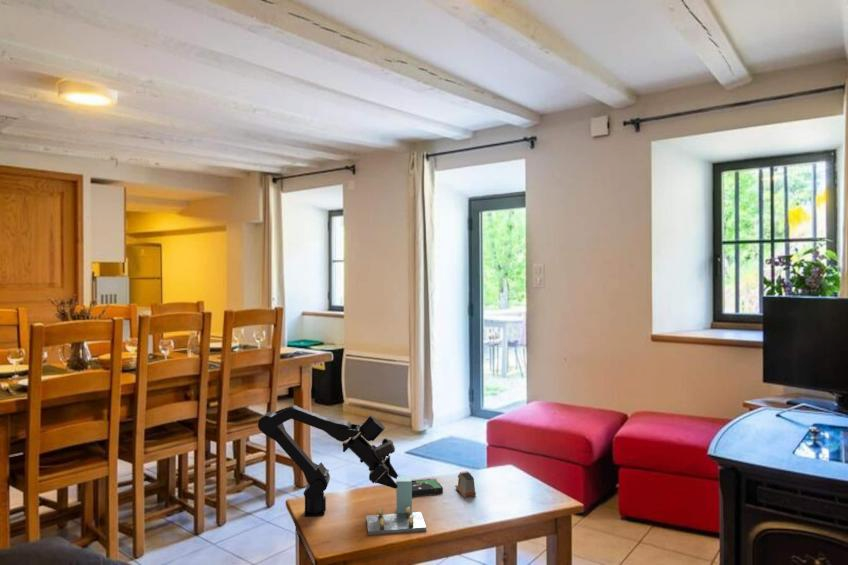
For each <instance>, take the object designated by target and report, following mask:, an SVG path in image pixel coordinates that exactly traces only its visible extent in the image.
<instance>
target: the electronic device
mask: <svg viewBox="0 0 848 565" xmlns="http://www.w3.org/2000/svg"><path fill="white" fill-rule="evenodd" d="M457 478H458V480H457V482H458V483H457V485H456V484H455V486H454V487H455V490H457V491H458V493H459V494H460V495H462V496H463V497H464V498H471V497H476V493H477V492H476V488H475V486H476V485H475V478H474V476H473V475H472V474H471V473H470V472H469V471H467V470H466V471H461V472H459V474H457Z"/></svg>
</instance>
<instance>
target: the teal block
mask: <svg viewBox="0 0 848 565" xmlns="http://www.w3.org/2000/svg"><path fill="white" fill-rule="evenodd" d="M412 481H413V479H412V476H411V475H404V476H403V475H402V476H401V475H400V476H399V475H398V476H397V479H396V481H395V483H396V484H397V486H398V487H397V488H396V489H395V490H396V514H398V513H406V506H410V513H413V511H412V510H413V497H412Z"/></svg>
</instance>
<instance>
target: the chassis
mask: <svg viewBox="0 0 848 565" xmlns="http://www.w3.org/2000/svg"><path fill="white" fill-rule="evenodd" d="M377 510H378V513H377V514H372V515H370V514H369V515H366V517H365V518H366V527H367V535H368V536H378V535H390V534H391V535H393V534H394V535H395V534H405V533H408V534H409V533H421V532H427V526H426V523H425V520H424V517H423V513H422V512H421V511H417V512H416V511H415V512H413V511H412V513H410V506H406V513H398V514H397V513H385V514H384V513H383V512H384V509H383V507H378V509H377Z"/></svg>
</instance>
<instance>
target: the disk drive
mask: <svg viewBox="0 0 848 565" xmlns="http://www.w3.org/2000/svg"><path fill="white" fill-rule="evenodd" d="M441 493H442V494H444V487H443V486H442V484H441V483H440V482H438V480H437V478H429V479H428V478H426V479H419V480H418V479H417V480H412V498H413V497H420V496H421V497H422V495H423V496H431V495H430V494H432V495H441Z"/></svg>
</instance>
